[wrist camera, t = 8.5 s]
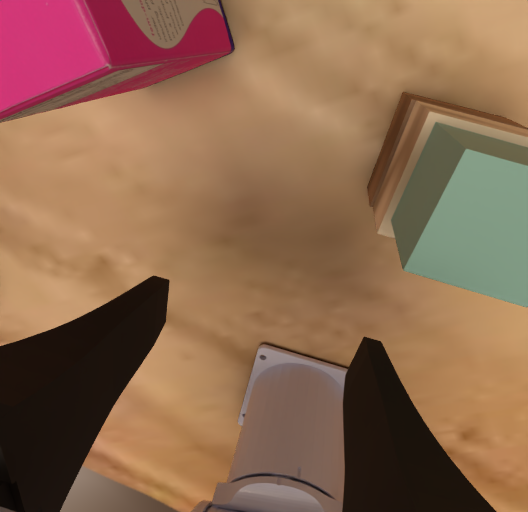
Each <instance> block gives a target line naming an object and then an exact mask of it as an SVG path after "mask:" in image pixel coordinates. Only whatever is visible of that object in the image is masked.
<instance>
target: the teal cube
mask: <svg viewBox="0 0 528 512" xmlns="http://www.w3.org/2000/svg"><path fill="white" fill-rule="evenodd" d="M391 223H392V227H393V231H394V235H395V239H396V243H397V247H398V251H399V255H400V260H401V264H402V268H403V271H406V272H410V273H413V274H416V275H420V276H423V277H427V278H430V279H433V280H437V281H440V282H443V283H447V284H450V285H453V286H457V287H460V288H463V289H467V290H470V291H473V292H477V293H480V294H483V295H487V296H490V297H493V298H497V299H500V300H503V301H507V302H510V303H513V304H517V305H520V306H523V307H528V147H524V146H521V145H517V144H514V143H510V142H506V141H503V140H499V139H496V138H492V137H489V136H485V135H481V134H478V133H474V132H471V131H467V130H463V129H460V128H456V127H453V126H449V125H445V124H442V123H438V122H435V124H434V126H433V129H432V131H431V133H430V135H429V137H428V140H427V142H426V144H425V146H424V148H423V151H422V153H421V155H420V157H419V159H418V162H417V164H416V166H415V168H414V170H413V173H412V175H411V177H410V179H409V181H408V184H407V186H406V188H405V190H404V192H403V195H402V197H401V199H400V201H399V203H398V205H397V208H396V210H395V212H394V214H393V216H392V219H391Z"/></svg>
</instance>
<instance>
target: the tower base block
mask: <svg viewBox="0 0 528 512" xmlns="http://www.w3.org/2000/svg"><path fill="white" fill-rule="evenodd" d="M416 100H417V101H420V102H424V103H428V104H432V105H436V106H439V107H443V108H447V109H451V110H455V111H458V112H462V113H466V114H470V115H474V116H477V117H481V118H485V119H489V120H492V121H496V122H500V123H504V124H508V125H511V126H515V127H519V128H523V129H527V130H528V128H526V127H524V126H522V125H520V124H518V123H516V122H513V121H511V120H509V119H507V118H504V117H500V116H496V115H493V114H489V113H485V112H481V111H477V110H473V109H469V108H465V107H461V106H457V105H453V104H449V103H445V102H441V101H437V100H433V99H429V98H425V97H422V96H418V95H414V94H410V93H406V92H403V93H402V96H401V99H400V101H399V104H398V107H397V109H396V112H395V115H394V117H393V120H392V123H391V125H390V128H389V131H388V133H387V136H386V139H385V141H384V144H383V147H382V149H381V152H380V155H379V157H378V160H377V163H376V165H375V168H374V171H373V173H372V176H371V179H370V181H369V184H368V187H367V189H368V196H369V203H370V206H371V207H373V206H374V203H375V201H376V198H377V196H378V193H379V191H380V188H381V186H382V184H383V181H384V179H385V176H386V174H387V171H388V169H389V166H390V164H391V161H392V159H393V156H394V154H395V151H396V149H397V147H398V144H399V142H400V139H401V137H402V134H403V132H404V129H405V127H406V124H407V122H408V119H409V117H410V114H411V112H412V110H413V107H414V105H415V102H416Z"/></svg>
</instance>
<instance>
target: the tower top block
mask: <svg viewBox="0 0 528 512" xmlns="http://www.w3.org/2000/svg"><path fill="white" fill-rule="evenodd" d="M435 122H438V123H442V124H445V125H449V126H453V127H456V128H460V129H463V130H467V131H471V132H474V133H478V134H481V135H485V136H489V137H492V138H496V139H499V140H503V141H506V142H510V143H514V144H517V145H521V146H524V147H528V130H527V129H523V128H519V127H515V126H511V125H508V124H504V123H500V122H496V121H492V120H489V119H485V118H481V117H477V116H474V115H470V114H466V113H462V112H458V111H455V110H451V109H447V108H443V107H439V106H436V105H432V104H428V103H424V102H420V101H417V100H416V102H415V105H414V107H413V110H412V112H411V114H410V117H409V119H408V122H407V124H406V127H405V129H404V132H403V134H402V137H401V139H400V142H399V144H398V147H397V149H396V151H395V154H394V156H393V159H392V161H391V164H390V166H389V169H388V171H387V174H386V176H385V179H384V181H383V184H382V186H381V188H380V191H379V193H378V196H377V198H376V201H375V203H374V206H373V210H374V217H375V223H376V229H377V234H381V235H384V236H388V237H391V238H395V235H394V231H393V227H392V223H391V219H392V216H393V214H394V212H395V210H396V208H397V205H398V203H399V201H400V199H401V197H402V195H403V192H404V190H405V188H406V186H407V184H408V181H409V179H410V177H411V175H412V173H413V170H414V168H415V166H416V164H417V162H418V159H419V157H420V155H421V153H422V151H423V148H424V146H425V144H426V142H427V140H428V137H429V135H430V133H431V131H432V129H433V126H434V124H435Z"/></svg>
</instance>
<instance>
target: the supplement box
mask: <svg viewBox="0 0 528 512" xmlns="http://www.w3.org/2000/svg"><path fill="white" fill-rule="evenodd" d="M233 50H234V44H233V40H232V37H231V34H230V31H229V27H228V24H227V21H226V17H225V14H224V11H223V8H222V5H221V1H220V0H0V123H1V122H5V121H9V120H13V119H18V118H22V117H26V116H29V115H33V114H37V113H42V112H46V111H50V110H54V109H59V108H63V107H67V106H71V105H75V104H78V103H82V102H87V101H91V100H95V99H99V98H103V97H108V96H112V95H116V94H120V93H124V92H128V91H132V90H137V89H141V88H145V87H147V86H150V85H153V84H155V83H158V82H160V81H163V80H165V79H168V78H171V77H173V76H176V75H178V74H181V73H183V72H186V71H188V70H191V69H193V68H196V67H198V66H201V65H203V64H206V63H208V62H211V61H213V60H216V59H218V58H221V57H223V56H225V55H228V54H230V53H232V52H233Z"/></svg>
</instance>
